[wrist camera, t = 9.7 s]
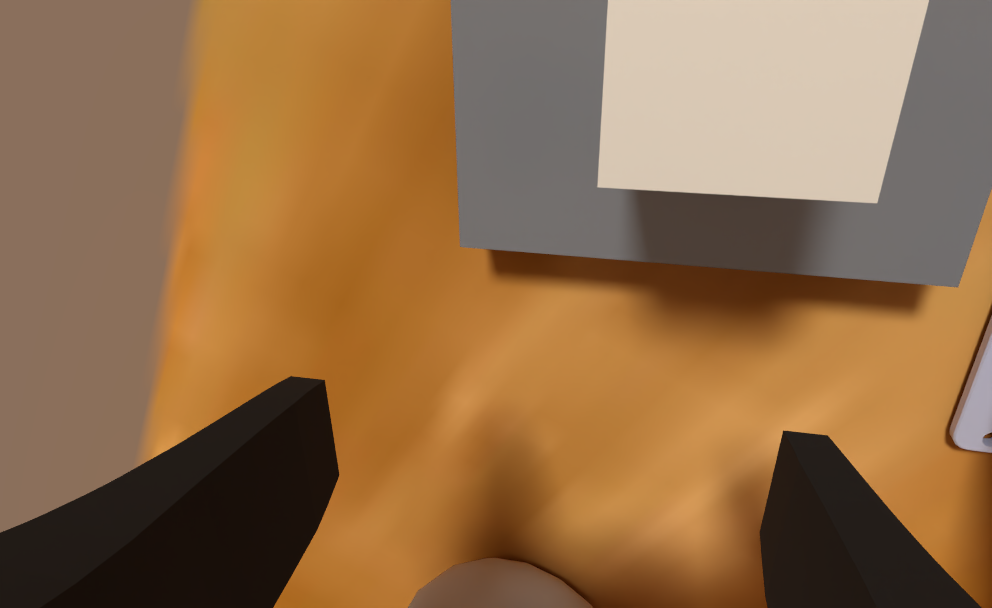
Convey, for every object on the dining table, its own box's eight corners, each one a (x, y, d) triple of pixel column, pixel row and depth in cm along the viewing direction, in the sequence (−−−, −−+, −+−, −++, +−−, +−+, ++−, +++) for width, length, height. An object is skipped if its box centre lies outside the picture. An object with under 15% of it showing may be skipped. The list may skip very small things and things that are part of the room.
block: (849, -103, 13) (960, -123, 8) (808, 110, 15) (876, 203, 10) (636, -98, 14) (614, -113, 9) (622, 104, 16) (597, 187, 11)
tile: (1109, -362, 13) (1197, -421, 11) (924, 245, 18) (958, 287, 16) (471, -310, 15) (437, -348, 13) (482, 213, 21) (460, 247, 19)
